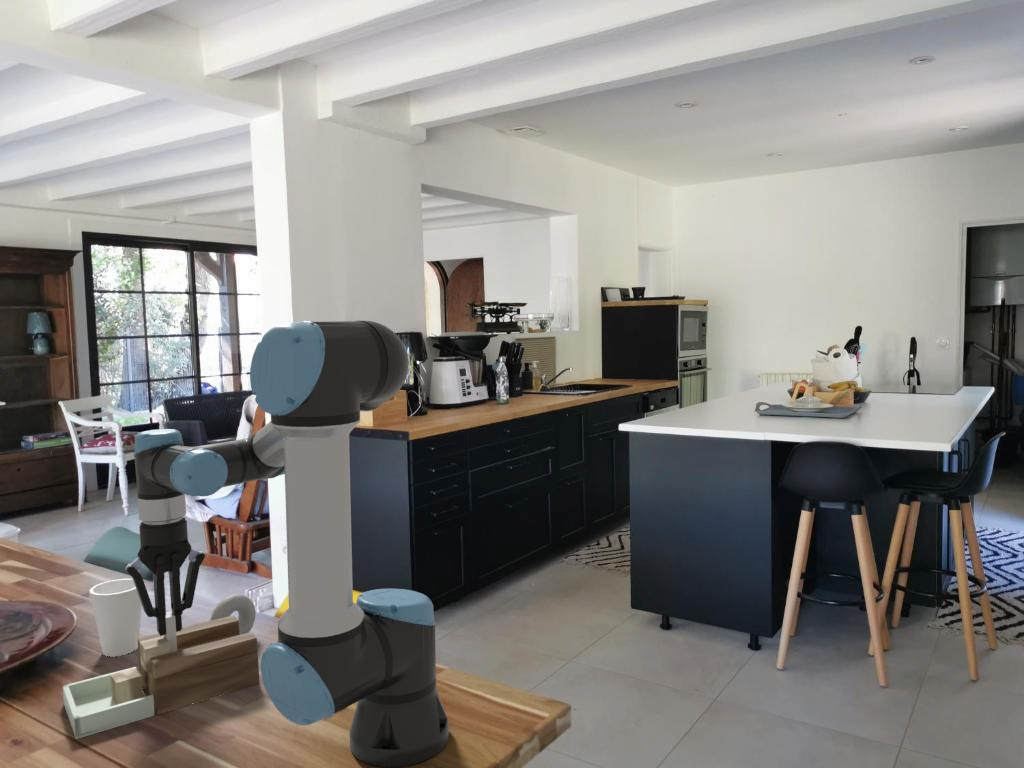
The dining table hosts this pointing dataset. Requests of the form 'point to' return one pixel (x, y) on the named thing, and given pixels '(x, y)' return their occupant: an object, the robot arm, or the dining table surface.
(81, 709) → the tray
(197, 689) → the slot board
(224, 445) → the robot arm
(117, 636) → the foam cup
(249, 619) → the donut
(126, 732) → the dining table surface
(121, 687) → the tan wooden cube
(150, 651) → the beige wooden cube
